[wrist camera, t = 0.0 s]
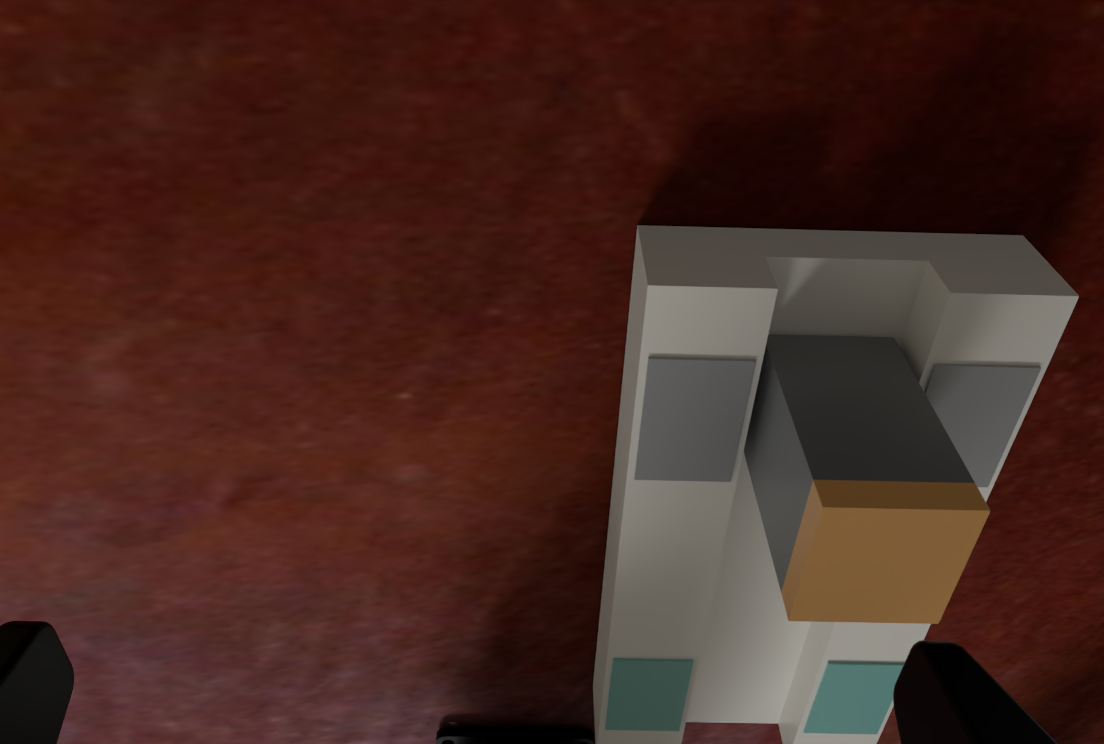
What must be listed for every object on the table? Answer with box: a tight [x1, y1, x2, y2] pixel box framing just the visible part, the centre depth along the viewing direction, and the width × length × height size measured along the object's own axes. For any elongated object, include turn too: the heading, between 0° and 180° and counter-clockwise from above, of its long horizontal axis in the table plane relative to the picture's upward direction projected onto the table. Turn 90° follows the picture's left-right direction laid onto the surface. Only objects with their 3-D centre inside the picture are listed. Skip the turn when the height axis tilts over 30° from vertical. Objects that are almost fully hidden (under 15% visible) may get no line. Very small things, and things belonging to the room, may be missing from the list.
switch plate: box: [593, 225, 1079, 744], centre depth 27 cm, size 20×10×3 cm, turn 178°
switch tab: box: [744, 334, 990, 624], centre depth 21 cm, size 4×3×6 cm
